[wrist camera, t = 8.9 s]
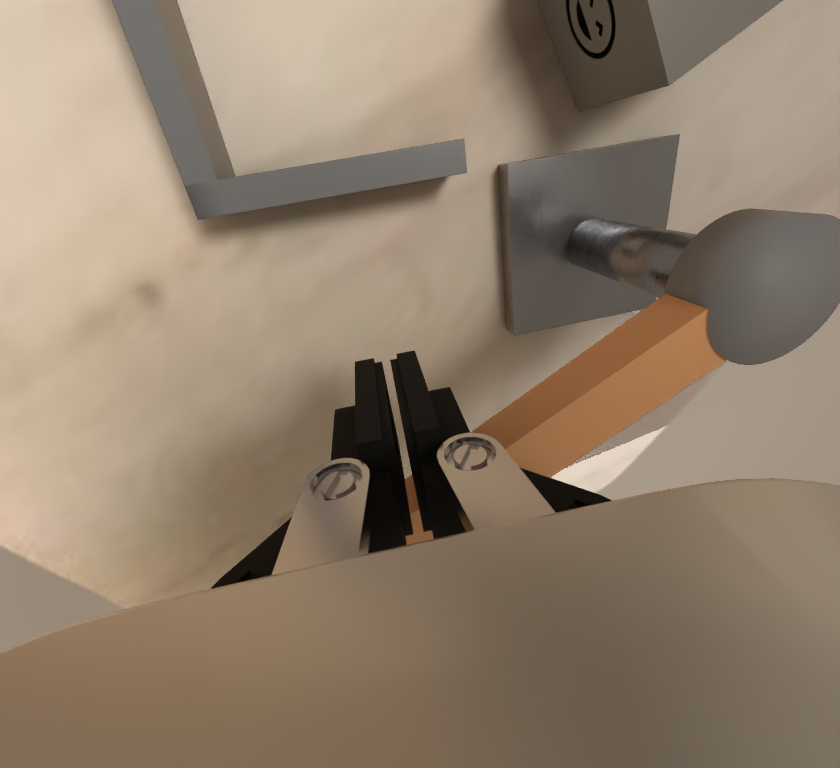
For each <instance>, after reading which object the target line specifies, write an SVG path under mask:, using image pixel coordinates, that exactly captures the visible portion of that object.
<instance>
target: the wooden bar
mask: <svg viewBox="0 0 840 768" xmlns="http://www.w3.org/2000/svg"><path fill="white" fill-rule="evenodd" d="M839 303H840V220H839V219H838V218H836V217H833V216H830V215H826V214H813V213H800V212H787V211H774V210H762V209H743V210H739V211H735V212H732V213H729V214H727V215H725V216H723V217H721V218H719V219H717V220H715V221H714V222H712V223H711V224H709V225H708V226H707V227H705V228H704V229H703V230H702V231H700V232H699V233H698V234H697V235H696V236H695V237H694V238H693V239H692V240H691V242H690V243H689V244H688V245H687V246H686V247H685V249H684V250H683V252H682V253H681V254H680V256H679V257H678V259H677V261H676V263H675V264H674V266H673V268H672V270H671V273H670V275H669V278H668V281H667V284H666V288H665V293H664V295H663V296H662V297H660V298H659V299H658V300H656V301H655V302H653V303H652V304H651V305H649V306H648V307H646V308H645V309H644V310H642V311H641V312H639V313H638V314H637V315H635V316H634V317H632V318H631V319H630V320H628V321H627V322H625V323H624V324H623V325H621V326H620V327H618V328H617V329H616V330H614V331H613V332H611V333H610V334H608V335H607V336H606V337H604V338H603V339H601V340H600V341H599V342H597V343H596V344H594V345H593V346H592V347H590V348H589V349H587V350H586V351H585V352H583V353H582V354H580V355H579V356H578V357H576V358H575V359H573V360H572V361H571V362H569V363H568V364H566V365H565V366H564V367H562V368H561V369H559V370H558V371H557V372H555V373H554V374H552V375H551V376H550V377H548V378H547V379H545V380H544V381H543V382H541V383H540V384H538V385H537V386H536V387H534V388H533V389H531V390H530V391H529V392H527V393H526V394H524V395H523V396H522V397H520V398H519V399H517V400H516V401H515V402H513V403H512V404H510V405H509V406H508V407H506V408H505V409H503V410H502V411H501V412H499V413H498V414H496V415H495V416H494V417H492V418H491V419H489V420H488V421H487V422H485V423H484V424H482V425H481V426H479V427H478V428H477V429H475V430H474V431H472V432H471V433H481V434H486V435H488V436H490V437H493V438H494V439H496V440H497V441H498V442H499V443H500V444H501V445H502V446H503V448H504V449H505V450H506V451H507V453H508V454H509V455H510V456H511V458H512V459H513V460H514V461H515V463H516V464H517V465H518V466H519V468H522V469H525V470H528V471H531V472H534V473H537V474H540V475H543V476H546V477H549V478H550V477H552V476H553V475H555V474H556V473H558V472H559V471H561V470H562V469H564V468H565V467H567V466H568V465H570V464H571V463H573V462H575V461H576V460H578V459H579V458H581V457H582V456H584V455H585V454H587V453H588V452H590V451H591V450H593V449H594V448H596V447H597V446H599V445H600V444H602V443H603V442H605V441H606V440H608V439H609V438H611V437H612V436H614V435H615V434H617V433H618V432H620V431H621V430H623V429H624V428H626V427H627V426H629V425H630V424H632V423H633V422H635V421H636V420H638V419H639V418H641V417H642V416H644V415H645V414H647V413H648V412H650V411H652V410H653V409H655V408H656V407H658V406H659V405H661V404H662V403H664V402H665V401H667V400H668V399H670V398H671V397H673V396H674V395H676V394H677V393H679V392H680V391H682V390H683V389H685V388H686V387H688V386H689V385H691V384H692V383H694V382H695V381H697V380H698V379H700V378H701V377H703V376H704V375H706V374H707V373H709V372H710V371H712V370H713V369H715V368H716V367H718V366H719V365H721V364H722V363H724V362H726V359H727V360H729V361H731V362H734V363H737V364H744V365H754V364H761V363H765V362H768V361H771V360H774V359H776V358H779V357H781V356H783V355H785V354H787V353H789V352H790V351H792V350H794V349H795V348H797V347H798V346H799V345H801V344H802V343H804V342H805V341H806V340H807V339H808V338H810V337H811V336H812V335H813V334H814V333H815V332H816V331H817V330H818V329H819V328H820V327H821V326H822V325H823V324H824V323H825V322H826V321H827V319H828V318H829V317H830V315H831V314H832V313H833V312H834V310H835V309H836V307H837V306H838V304H839ZM405 485H406V491H407V497H408V503H409V509H410V515H411V521H412V527H413V535H408V536H406V543H407V545H409V544H414V543H418V542H423V541H427V540H432V539H434V538H433V533H432V530H431V531H426V532H423V526H422V521H421V516H420V511H419V506H418V501H417V496H416V491H415V485H414V480H413V475H411V476H409V477H408V478H407V479H405Z"/></svg>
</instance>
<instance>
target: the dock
mask: <svg viewBox="0 0 840 768" xmlns="http://www.w3.org/2000/svg"><path fill="white" fill-rule="evenodd" d="M112 2H113V5H114V7H115V10H116V13H117V15H118V18H119V20H120V23H121V25H122V28H123V30H124V33H125V35H126V38H127V41H128V43H129V46H130V48H131V51H132V53H133V56H134V58H135V61H136V63H137V66H138V68H139V71H140V74H141V76H142V79H143V81H144V84H145V86H146V89H147V91H148V94H149V96H150V99H151V102H152V104H153V107H154V109H155V112H156V114H157V117H158V119H159V122H160V124H161V127H162V130H163V132H164V135H165V137H166V140H167V142H168V145H169V147H170V150H171V152H172V155H173V157H174V160H175V163H176V165H177V168H178V170H179V173H180V175H181V178H182V180H183V183H184V185H185V188H186V191H187V193H188V196H189V198H190V201H191V203H192V206H193V208H194V211H195V213H196V216H197V218H198V220H199V219H205V218H211V217H216V216H222V215H228V214H234V213H239V212H245V211H251V210H257V209H262V208H268V207H274V206H279V205H285V204H291V203H297V202H302V201H308V200H314V199H320V198H325V197H331V196H337V195H342V194H348V193H354V192H360V191H365V190H371V189H377V188H383V187H388V186H394V185H400V184H406V183H411V182H417V181H423V180H428V179H434V178H440V177H446V176H451V175H457V174H463V173H467V168H466V155H465V143H464V139H459V140H453V141H447V142H441V143H435V144H429V145H423V146H417V147H411V148H405V149H399V150H393V151H387V152H381V153H375V154H369V155H363V156H357V157H352V158H346V159H340V160H334V161H328V162H322V163H316V164H310V165H304V166H298V167H292V168H286V169H280V170H274V171H268V172H262V173H256V174H250V175H244V176H238V177H235V174H234V171H233V168H232V165H231V162H230V159H229V156H228V153H227V150H226V147H225V144H224V141H223V138H222V135H221V132H220V129H219V126H218V123H217V120H216V117H215V114H214V111H213V108H212V105H211V102H210V99H209V96H208V93H207V90H206V87H205V84H204V81H203V78H202V75H201V72H200V69H199V66H198V63H197V60H196V57H195V54H194V51H193V48H192V45H191V42H190V39H189V36H188V33H187V30H186V27H185V24H184V21H183V18H182V15H181V12H180V9H179V6H178V3H177V0H112Z"/></svg>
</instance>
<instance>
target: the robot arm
mask: <svg viewBox="0 0 840 768" xmlns="http://www.w3.org/2000/svg"><path fill="white" fill-rule="evenodd" d="M390 361H391V366H392V372H393V377H394V382H395V387H396V392H397V398H398V403H399V408H400V413H401V419H402V424H403V429H404V434H405V439H406V444H407V450H408V455H409V460H410V465H411V470H412V475H413V480H414V485H415V491H416V496H417V501H418V506H419V511H420V516H421V521H422V526H423V532H426V531H431V530H432V533H433V538H434V539H432V540H427V541H423V542H418V543H414V544H409V545H407V543H406V536H408V535H413V527H412V521H411V515H410V509H409V503H408V497H407V491H406V485H405V479H404V473H403V467H402V461H401V455H400V449H399V443H398V438H397V433H396V428H395V423H394V418H393V413H392V409H391V404H390V399H389V394H388V389H387V384H386V380H385V375H384V370H383V365H382V362H378V363H375V362H374V358H373V359H367V360H362V361H357V362H355V406H350V407H345V408H340V409H336V410H335V416H334V429H333V441H332V454H331V461H329V462H327V463H324V464H322V465H321V466H319V467H318V468H316V469H315V470H314V471H313V472H312V473H311V474H310V475H309V476H308V477H307V479H306V481H305V482H304V484H303V487H302V490H301V493H300V496H299V498H298V501H297V504H296V507H295V510H294V513H293V515H292V517H291V518H290V519H289V520H288V521H287V522H286V523H284V524H283V525H282V526H281V527H280V528H279V529H277V530H276V531H275V532H274V533H273V534H272V535H271V536H269V537H268V538H267V539H266V540H265V541H264V542H262V543H261V544H260V545H259V546H258V547H257V548H255V549H254V550H253V551H252V552H251V553H250V554H248V555H247V556H246V557H245V558H244V559H243V560H241V561H240V562H239V563H238V564H237V565H236V566H234V567H233V568H232V569H231V570H230V571H229V572H227V573H226V574H225V575H224V576H223V577H222V578H221V579H220V580H219V581H218V582H217V583H216V584H215V585H214V586H213V587H212V588H211V589H208V590H204V591H199V592H195V593H190V594H186V595H182V596H177V597H173V598H168V599H164V600H160V601H156V602H152V603H148V604H144V605H140V606H136V607H133V608H129V609H125V610H121V611H117V612H113V613H109V614H105V615H101V616H97V617H94V618H90V619H87V620H84V621H81V622H78V623H75V624H71V625H68V626H66V627H63V628H60V629H56V630H53V631H51V632H48V633H46V634H44V635H41V636H39V637H36V638H34V639H31V640H29V641H27V642H24V643H22V644H19V645H17V646H15V647H12V648H10V649H8V650H6V651H4V652H2V653H0V768H840V486H838V485H833V484H827V483H820V482H814V481H802V480H801V481H800V480H789V479H773V478H771V479H735V480H727V481H717V482H707V483H702V484H696V485H691V486H685V487H680V488H674V489H668V490H663V491H657V492H652V493H646V494H642V495H637V496H633V497H628V498H623V499H618V500H614V501H612V500H610V499H608V498H606V497H603V496H601V495H599V494H596V493H593V492H590V491H587V490H584V489H581V488H578V487H575V486H572V485H569V484H566V483H564V482H561V481H558V480H555V479H552V478H549V477H546V476H543V475H540V474H537V473H534V472H531V471H528V470H525V469H522V468H519V466H518V465H517V464H516V463H515V461H514V460H513V459H512V458H511V456H510V455H509V454H508V453H507V451H506V450H505V449H504V448H503V446H502V445H501V444H500V443H499V442H498V441H497V440H496V439H494V438H493V437H490V436H488V435H486V434H481V433H470V431H469V429H468V427H467V425H466V422H465V420H464V418H463V415H462V413H461V411H460V409H459V406H458V404H457V402H456V400H455V397H454V395H453V393H452V391H451V389H450V387H447V388H442V389H437V390H432V391H428V388H427V386H426V383H425V380H424V377H423V374H422V371H421V368H420V365H419V362H418V359H417V356H416V353H415V351H410V352H404V353H399V354H397V359H393V360H390Z"/></svg>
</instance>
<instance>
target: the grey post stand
mask: <svg viewBox="0 0 840 768" xmlns="http://www.w3.org/2000/svg"><path fill="white" fill-rule="evenodd" d="M679 136H680V134H678V135H670V136H662V137H656V138H651V139H645V140H639V141H633V142H628V143H622V144H616V145H610V146H605V147H599V148H593V149H587V150H582V151H576V152H570V153H564V154H559V155H553V156H547V157H541V158H536V159H530V160H524V161H518V162H513V163H507V164H501V165H499V184H500V205H501V227H502V249H503V270H504V292H505V314H506V329H507V330H508V331H509V332H511V333H512V334H513V335H519V334H524V333H529V332H534V331H538V330H543V329H548V328H553V327H558V326H563V325H567V324H572V323H577V322H582V321H587V320H591V319H596V318H601V317H606V316H611V315H616V314H620V313H625V312H630V311H635V310H640V309H644V308H646V307H648V306H649V305H651V304H652V303H653V302H655V301H656V296H657V297H659V298H660V297H662V296H663V295H664V293H665V288H666V284H667V281H668V278H669V275H670V273H671V270H672V268H673V266H674V264H675V263H676V261H677V259H678V257H679V256H680V254H681V253H682V252H683V250H684V249H685V247H686V246H687V245H688V244H689V243H690V242H691V240H692V239H693V238H694V237H695V236H696V234H690V233H684V232H678V231H672V230H666V226H667V219H668V212H669V205H670V198H671V191H672V184H673V178H674V171H675V164H676V157H677V150H678V143H679Z"/></svg>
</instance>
